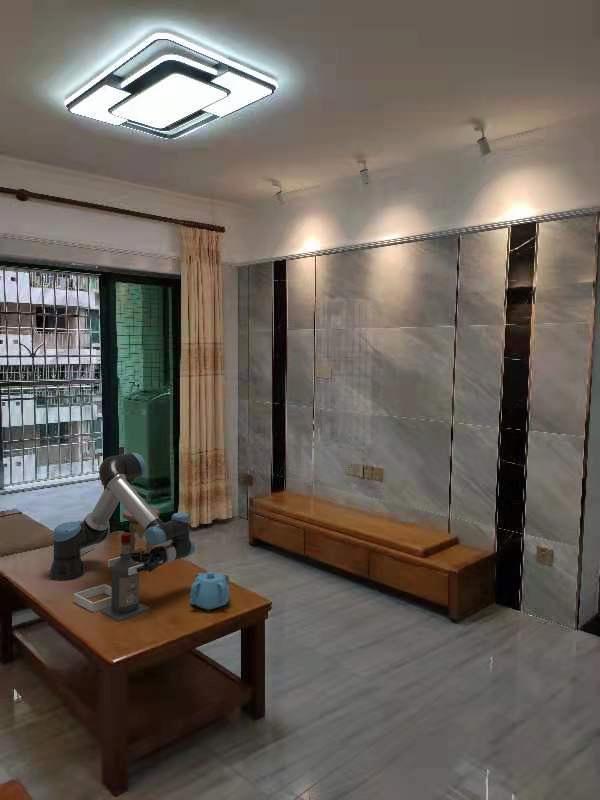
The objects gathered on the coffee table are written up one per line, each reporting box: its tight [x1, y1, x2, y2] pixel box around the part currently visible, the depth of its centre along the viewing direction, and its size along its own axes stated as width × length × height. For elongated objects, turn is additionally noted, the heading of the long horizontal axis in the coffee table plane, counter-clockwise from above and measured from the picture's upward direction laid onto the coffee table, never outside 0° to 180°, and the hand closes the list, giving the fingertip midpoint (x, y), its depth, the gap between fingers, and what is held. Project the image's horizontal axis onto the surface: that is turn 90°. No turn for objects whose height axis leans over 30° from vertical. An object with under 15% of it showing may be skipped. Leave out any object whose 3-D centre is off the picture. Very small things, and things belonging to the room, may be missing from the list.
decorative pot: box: [189, 571, 231, 610], centre depth 239 cm, size 16×16×14 cm
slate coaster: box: [99, 602, 151, 623], centre depth 231 cm, size 13×14×1 cm
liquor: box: [111, 532, 140, 613], centre depth 230 cm, size 9×9×30 cm
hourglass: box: [122, 507, 160, 565], centre depth 288 cm, size 18×18×25 cm
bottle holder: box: [73, 583, 112, 613], centre depth 239 cm, size 15×15×4 cm
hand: (118, 567), depth 227 cm, fingers open, 13 cm apart
